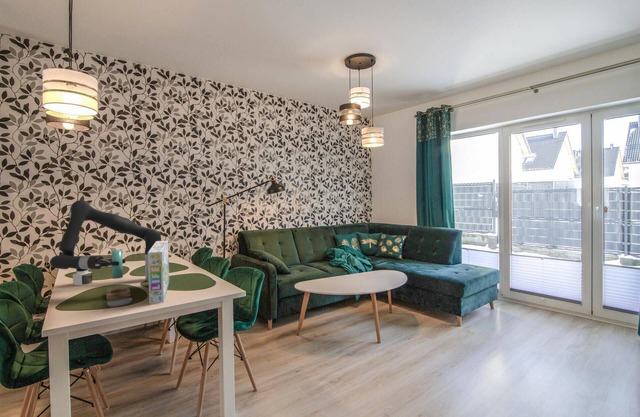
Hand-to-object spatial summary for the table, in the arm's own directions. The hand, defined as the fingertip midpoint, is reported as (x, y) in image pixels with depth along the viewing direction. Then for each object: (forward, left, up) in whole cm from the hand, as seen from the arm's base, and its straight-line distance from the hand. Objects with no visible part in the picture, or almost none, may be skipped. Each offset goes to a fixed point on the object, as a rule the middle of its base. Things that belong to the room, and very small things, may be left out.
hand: (121, 262), depth 176 cm
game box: (-18, +5, -19) cm, 27 cm away
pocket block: (+2, -2, -19) cm, 19 cm away
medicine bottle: (+19, -42, -19) cm, 50 cm away
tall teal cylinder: (+2, -2, -8) cm, 9 cm away
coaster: (+2, +13, -19) cm, 23 cm away
